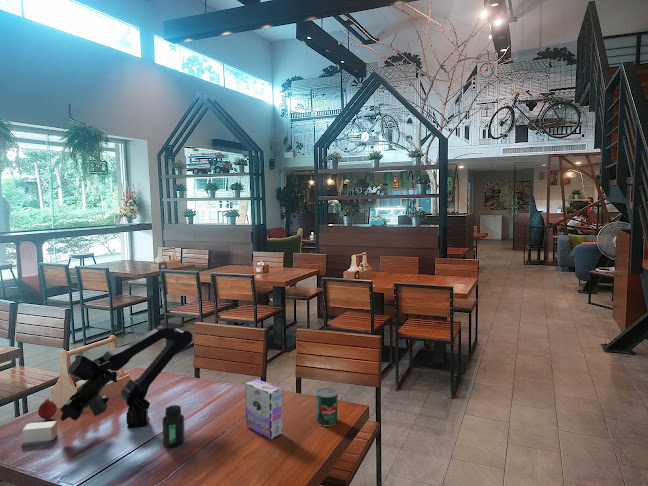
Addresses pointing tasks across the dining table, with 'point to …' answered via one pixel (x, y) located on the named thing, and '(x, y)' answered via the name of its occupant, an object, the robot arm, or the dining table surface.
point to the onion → (47, 409)
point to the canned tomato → (326, 406)
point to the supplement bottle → (173, 427)
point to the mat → (35, 443)
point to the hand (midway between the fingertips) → (62, 419)
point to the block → (40, 431)
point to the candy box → (264, 408)
